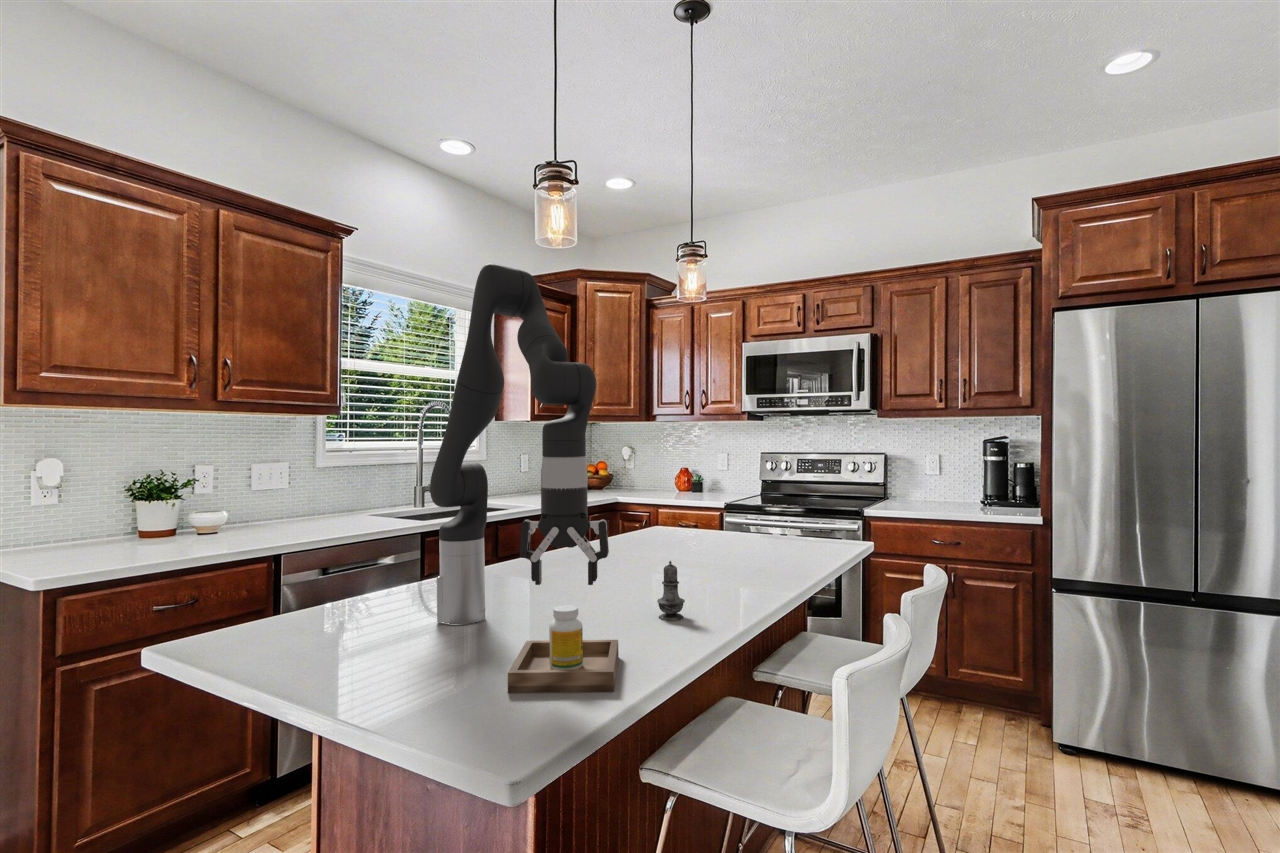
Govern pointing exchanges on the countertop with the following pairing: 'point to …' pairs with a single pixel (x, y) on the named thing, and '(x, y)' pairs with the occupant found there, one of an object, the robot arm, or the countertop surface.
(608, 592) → the countertop surface
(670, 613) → the salt shaker
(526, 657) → the tray
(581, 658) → the supplement bottle
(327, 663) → the countertop surface
